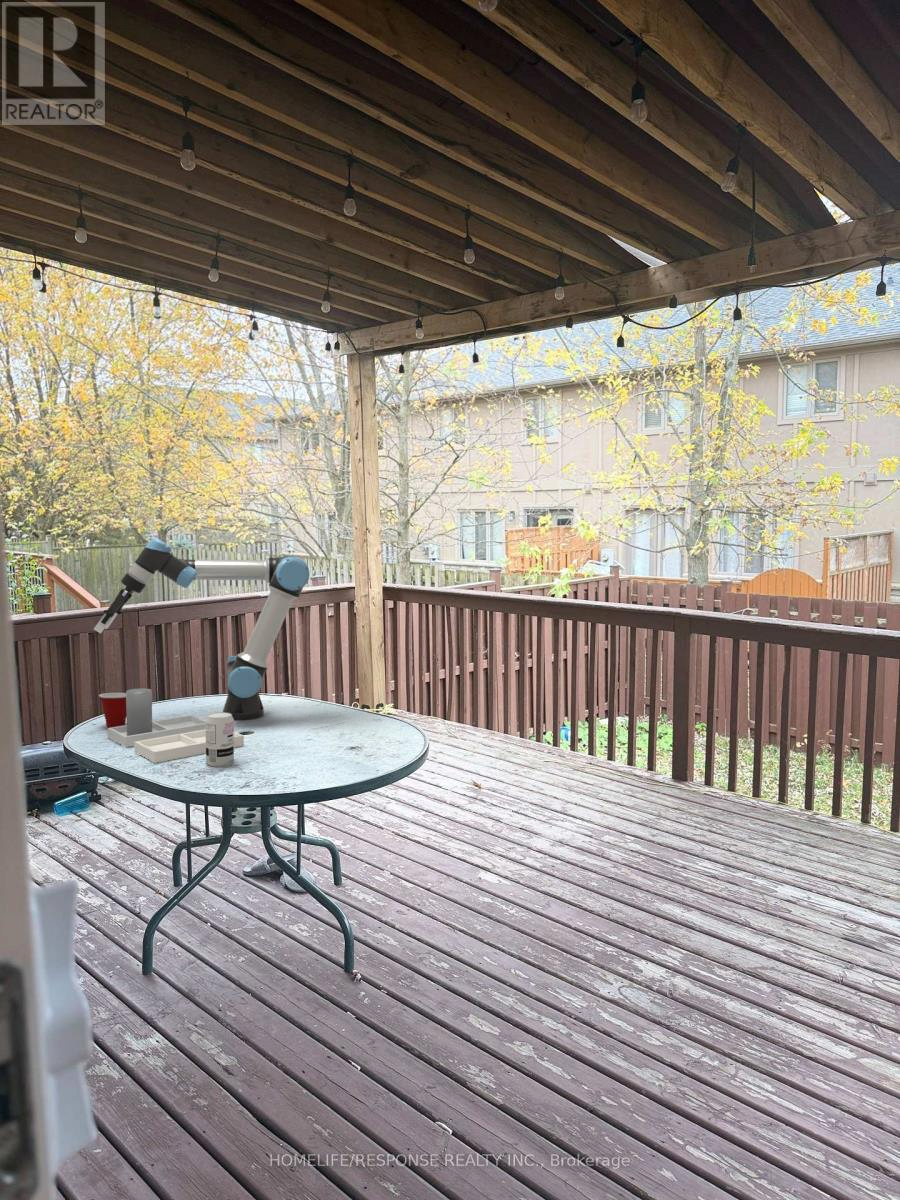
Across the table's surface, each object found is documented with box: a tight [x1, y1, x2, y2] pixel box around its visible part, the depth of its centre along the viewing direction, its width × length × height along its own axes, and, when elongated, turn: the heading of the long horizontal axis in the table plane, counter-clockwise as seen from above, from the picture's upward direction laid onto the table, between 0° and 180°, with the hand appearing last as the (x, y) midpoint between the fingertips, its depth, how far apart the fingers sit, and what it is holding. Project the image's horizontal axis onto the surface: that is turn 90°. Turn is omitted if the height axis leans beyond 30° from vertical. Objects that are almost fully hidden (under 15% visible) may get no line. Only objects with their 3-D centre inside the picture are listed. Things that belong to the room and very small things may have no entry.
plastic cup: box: [98, 692, 127, 729], centre depth 283 cm, size 11×11×12 cm
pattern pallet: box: [107, 687, 206, 748], centre depth 272 cm, size 30×15×16 cm, turn 134°
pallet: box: [133, 729, 245, 764], centre depth 257 cm, size 30×15×4 cm, turn 134°
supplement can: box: [205, 711, 235, 768], centre depth 242 cm, size 8×8×15 cm
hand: (100, 629), depth 274 cm, fingers open, 13 cm apart
